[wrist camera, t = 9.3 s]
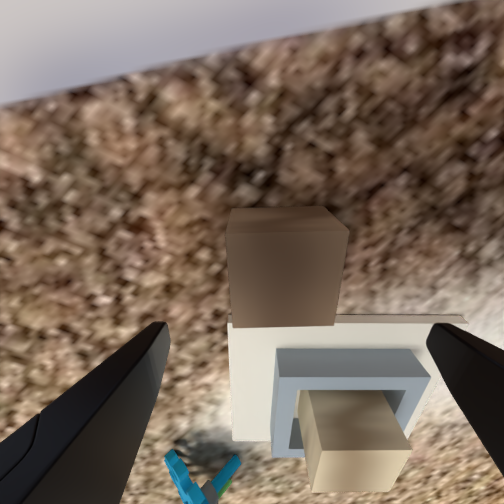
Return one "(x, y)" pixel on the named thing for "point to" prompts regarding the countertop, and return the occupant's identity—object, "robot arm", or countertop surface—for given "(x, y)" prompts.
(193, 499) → the gear
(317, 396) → the maple cube
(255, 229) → the walnut block
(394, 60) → the countertop surface
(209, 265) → the countertop surface
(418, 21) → the countertop surface
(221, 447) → the countertop surface
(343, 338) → the board
